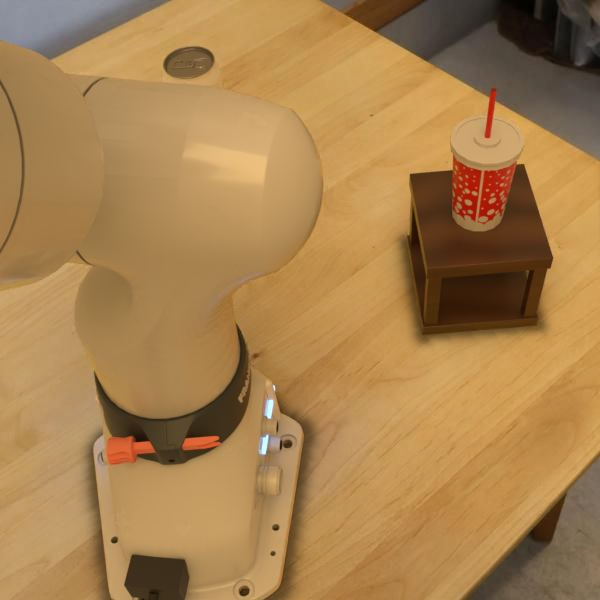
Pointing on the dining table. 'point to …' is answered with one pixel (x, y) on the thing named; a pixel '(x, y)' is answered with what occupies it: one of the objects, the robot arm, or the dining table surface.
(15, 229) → the robot arm
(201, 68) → the can
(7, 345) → the dining table surface
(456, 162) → the beverage cup
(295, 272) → the dining table surface
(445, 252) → the shelf
